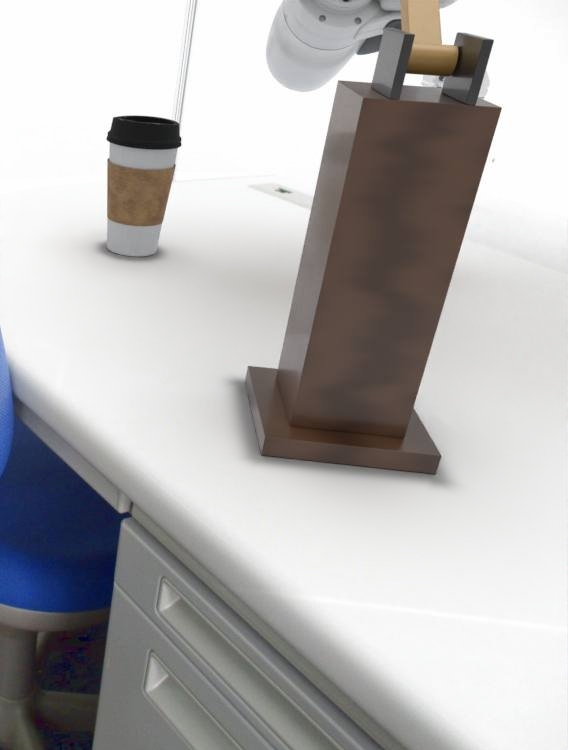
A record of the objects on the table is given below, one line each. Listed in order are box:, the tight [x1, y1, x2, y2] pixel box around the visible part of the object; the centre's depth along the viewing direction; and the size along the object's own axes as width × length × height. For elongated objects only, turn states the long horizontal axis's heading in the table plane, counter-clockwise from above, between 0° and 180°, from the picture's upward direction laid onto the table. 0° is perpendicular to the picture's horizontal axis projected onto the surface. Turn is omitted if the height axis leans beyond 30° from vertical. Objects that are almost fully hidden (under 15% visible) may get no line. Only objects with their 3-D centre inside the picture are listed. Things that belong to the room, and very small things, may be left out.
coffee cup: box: [106, 115, 182, 258], centre depth 99 cm, size 8×8×15 cm
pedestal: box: [244, 27, 503, 475], centre depth 60 cm, size 12×12×28 cm
